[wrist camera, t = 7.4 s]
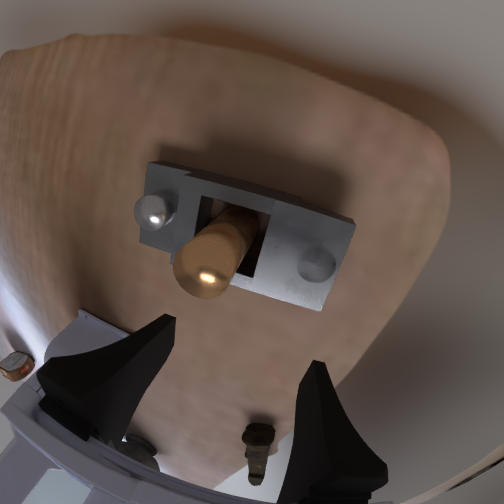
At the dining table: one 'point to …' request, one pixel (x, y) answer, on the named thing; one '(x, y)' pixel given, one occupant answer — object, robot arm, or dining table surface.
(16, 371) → the tin
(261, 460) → the hand tool
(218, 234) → the copper pin
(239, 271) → the grey plate with knobs
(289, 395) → the dining table surface
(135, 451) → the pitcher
